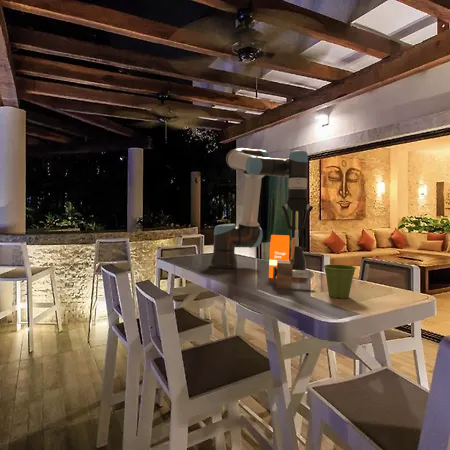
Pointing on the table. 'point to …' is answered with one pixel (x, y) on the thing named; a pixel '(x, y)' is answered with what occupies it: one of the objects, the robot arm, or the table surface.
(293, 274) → the pin
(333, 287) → the plant pot
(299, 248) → the pump dispenser
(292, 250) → the plate
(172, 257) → the table surface
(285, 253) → the orange juice
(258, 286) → the table surface
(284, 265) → the hitch block
